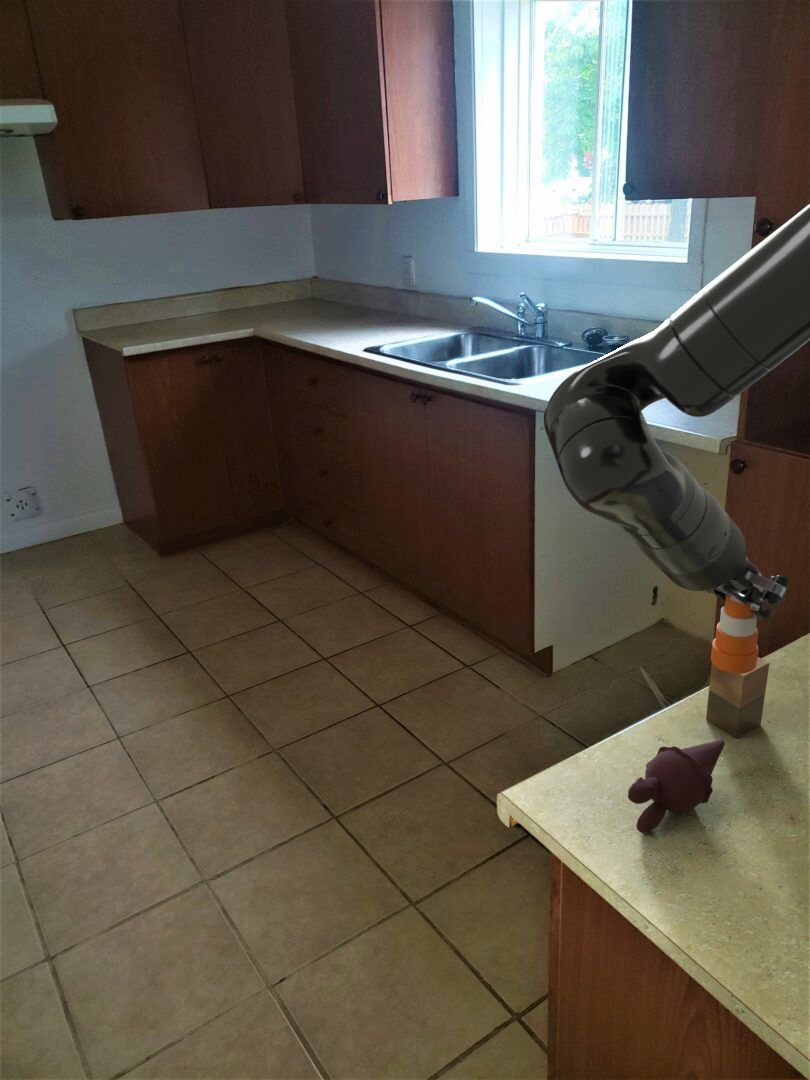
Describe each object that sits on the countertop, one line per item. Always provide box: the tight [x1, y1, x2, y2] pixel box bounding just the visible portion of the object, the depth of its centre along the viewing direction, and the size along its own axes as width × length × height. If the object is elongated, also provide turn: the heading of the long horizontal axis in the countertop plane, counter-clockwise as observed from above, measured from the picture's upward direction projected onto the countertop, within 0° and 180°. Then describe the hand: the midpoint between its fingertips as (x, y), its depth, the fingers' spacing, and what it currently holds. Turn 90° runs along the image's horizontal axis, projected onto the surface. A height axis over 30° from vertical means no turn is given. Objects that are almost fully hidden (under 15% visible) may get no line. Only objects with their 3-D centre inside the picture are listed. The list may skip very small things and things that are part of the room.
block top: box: [708, 656, 770, 708], centre depth 97 cm, size 4×4×4 cm
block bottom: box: [705, 689, 766, 739], centre depth 99 cm, size 4×4×4 cm
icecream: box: [627, 739, 726, 834], centre depth 87 cm, size 7×7×15 cm
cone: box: [710, 593, 760, 674], centre depth 82 cm, size 4×4×10 cm
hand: (750, 604), depth 83 cm, fingers closed on cone, 3 cm apart
